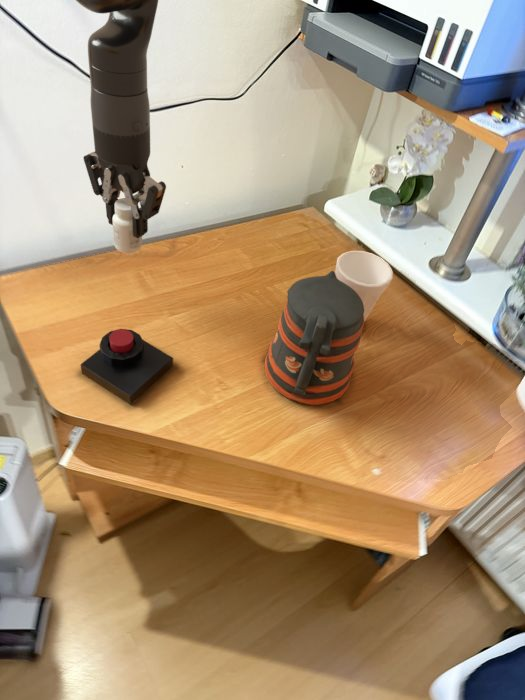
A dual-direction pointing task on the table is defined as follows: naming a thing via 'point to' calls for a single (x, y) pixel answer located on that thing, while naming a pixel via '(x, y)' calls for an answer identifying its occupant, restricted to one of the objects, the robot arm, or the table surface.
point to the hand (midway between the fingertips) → (127, 228)
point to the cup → (364, 276)
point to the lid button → (121, 341)
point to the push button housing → (127, 368)
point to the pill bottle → (124, 228)
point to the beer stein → (316, 340)
